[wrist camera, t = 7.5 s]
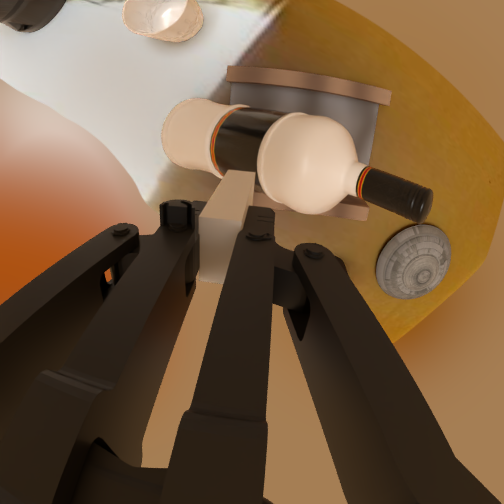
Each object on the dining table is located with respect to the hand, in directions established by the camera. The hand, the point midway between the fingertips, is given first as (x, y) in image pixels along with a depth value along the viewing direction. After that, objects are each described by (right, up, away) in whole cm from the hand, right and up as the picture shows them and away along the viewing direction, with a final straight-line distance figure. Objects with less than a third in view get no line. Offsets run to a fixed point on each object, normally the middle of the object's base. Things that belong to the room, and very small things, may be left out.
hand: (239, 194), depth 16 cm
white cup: (-9, +29, +14) cm, 33 cm away
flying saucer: (+29, -4, +30) cm, 42 cm away
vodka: (-7, +12, +19) cm, 24 cm away
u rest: (+7, +12, +22) cm, 26 cm away
